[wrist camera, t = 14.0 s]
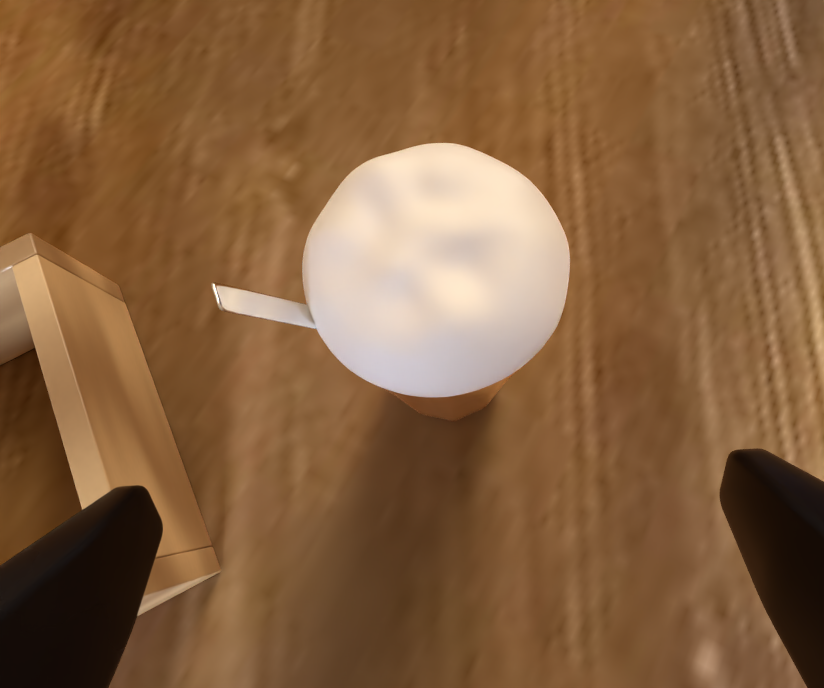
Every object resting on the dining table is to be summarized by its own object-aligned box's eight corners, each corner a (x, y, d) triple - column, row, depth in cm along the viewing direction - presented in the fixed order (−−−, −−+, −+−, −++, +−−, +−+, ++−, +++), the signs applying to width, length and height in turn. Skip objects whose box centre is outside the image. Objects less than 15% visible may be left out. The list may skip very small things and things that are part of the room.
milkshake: (334, 346, 17) (170, 163, 8) (482, 282, 17) (504, 21, 8) (386, 477, 16) (265, 453, 6) (546, 406, 16) (666, 278, 6)
